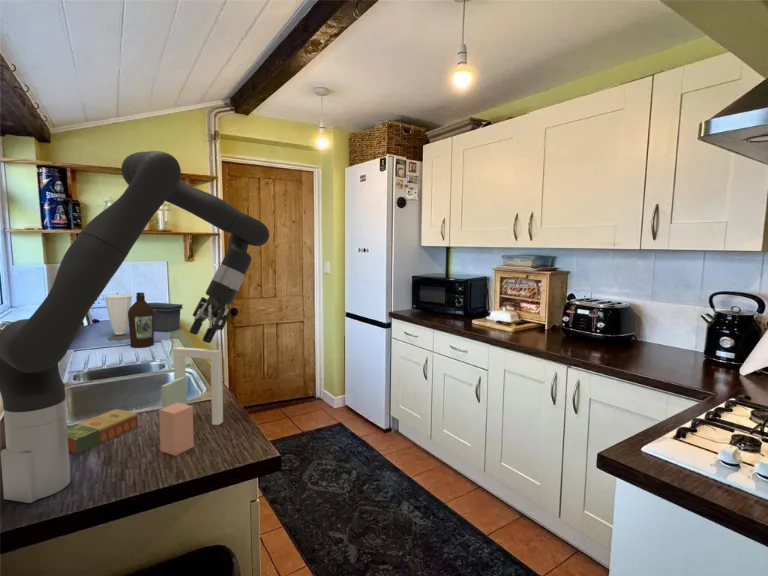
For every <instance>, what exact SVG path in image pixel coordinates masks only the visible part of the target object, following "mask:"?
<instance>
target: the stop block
mask: <svg viewBox="0 0 768 576" xmlns="http://www.w3.org/2000/svg"><path fill="white" fill-rule="evenodd" d="M193 407H194V405H193V406H192V405H189V404H187V405H186V404H182V403H175V404H173V405H170V406H167V407H165V408H162V407H161V408H160V409H158V411H159V412H158V413H159V415H158V416H159V439H160V440H159V441H160V445H159V446H160V447H159V448H160V452H162V453H165V454H168V455H171V456H175V457H176V456H179V455H180V454H182V453H184V452H186V451H189V450H190V449H192V448H194V446H195V445H194V444H195V443H194V440H195V437H194V412H193V411H194V408H193Z"/></svg>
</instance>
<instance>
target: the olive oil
mask: <svg viewBox="0 0 768 576" xmlns="http://www.w3.org/2000/svg"><path fill="white" fill-rule="evenodd" d="M135 295H136V296H135V299H136V301H135V302H134V303H133V304H131V307H130V309H129V311H128V321H129V322H128V328H129V329H128V330H129V335H130V339H129V341H130V347H131V348H133V349H134V348H135V349H139V348H140V349H141V348H149V347H152V346H154V345H155V334H154V333H155V331H154V310H153V308H152V307H151V306H150V305H149V304H148V303H149V302H147V301H146V300H145V297H146V295H145V292H136V294H135Z"/></svg>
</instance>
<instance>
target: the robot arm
mask: <svg viewBox="0 0 768 576" xmlns="http://www.w3.org/2000/svg"><path fill="white" fill-rule="evenodd" d="M120 170H121V175H122V178H123V180H124V181H125V183H126V184H127V185H128V186H127V187H126V189H125V190H124V192H123V193H121V195H120V196H119V197H118V199H116V200H115V201H114V202H113V203H112V204H110V205H109V206H108V207H107V208H105V209H104V210H102V211H101V212H100V213H99V214H97V215H96V216H94V218H92V219H91V220H90V221H89V222H88V223H87V224H85V226H84V227H83V228H82V229H81V231H80V232H79V233H78V234H77V236H76V237H75V239H74V240H73V241H72V243H71V244H70V246H69V247H68V249H66V251H65V253H64V255H63V257H62V259H61V261H60V264H59V266H58V269H57V272H56V275H55V278H54V281H53V283H52V285H51V286H52V287H51V289H50V291H49V293H48V294H47V296H45V297H46V298H45V299H44V300H43V301H42V303H40V305H39V306H38V307H37V309H36V310H35V312H34V313H33V314H32V315H31V316H30V317H29V318H24V319H19V320H16V321H12V322H11V323H9V324H7V325H6V326H5V327H4V328H2V329H1V331H0V396H1V400H2V406H3V407H2V408H3V419H4V420H3V421H4V433H5V434H4V435H5V447H6V448H4V449H2V450H0V462H1V464H0V466H1V474H2V475H1V477H2V491H3V500H7V501H13V502H21V503H26V504H31V503H34V502H35V501H37V500H40V499H43V498H47V497H49V496H52V495H55V494H56V493H58V492H61V491H62V490H64V489H65V488H66V487H67V486H68V485H69V484H70V482H71V470H70V467H71V466H70V453H69V448H68V431H67V428H68V417H67V414H68V413H67V399H66V387H65V384H64V381H63V379H62V377H61V374H60V370H59V363H60V362H61V361H62V359H64V357H65V355H66V354H67V352H68V350H69V349H70V347H71V345H72V343H73V341H74V339H75V337H76V335H77V333H78V331H79V329H80V327H81V325H82V323H83V321H84V320H85V318H86V316H87V314H88V313H89V311H90V310H91V308H92V307H93V305H94V304H95V303H96V301H97V300H98V298H99V297H100V296H101V295H102V293H103V291H104V290H105V289H106V288H107V285H108V284H109V283H110V281H111V279H112V278H113V277H114V275H115V274H116V273H117V271H118V270H119V269H120V267H121V266H122V264H123V262H124V261H126V258H127V257H128V254H130V251H131V250H132V248H133V247H134V245H135V244H136V242H137V241H138V240H139V237H140V236H141V235H142V233H143V232H144V230H145V228H146V227H147V225H148V224H149V222H150V221H151V219H152V218H153V217H154V216H155V214H156V213H157V211H158V210H159V209H160V208H161V207H162V206H163V204H165V202H167V203H169V204H171V205H174V206H176V207H178V208H180V209H182V210H185V211H187V213H189V214H190V213H191V214H192V215H194V216H195V217H198V218H199V219H202V220H203V221H204V222H206V223H208V224H210V225H212V226H214V227H216V228H217V229H219V230H221V231H223V232H226V233H229V234H230V236H229V240H228V244H227V245H228V246H227V251H226V254H225V255H224V257H223V259H222V261H221V263H220V265H219V266H218V268H217V269H216V271H215V272H214V275H213V277H212V279H211V281H210V283H209V285H208V287H207V289H206V291H205V295H206V296H208V298H206V297H201V298H200V300H199V301H198V303H197V305H196V307H195V310H194V311H193V313H192V316H193V317H194V318H193V319H194V321H193V323H192V325H191V326H190V328H189V329H190V330H189V333H190V334H192V335H195V336H196V335H198V334H199V332H200V330H201V329H202V326H203V323H204V322H205V321H206V320H208V321H209V322H208V327H207V329H206V331H205V333H204V335H203V337H202V342H203V343H207V344H211V343H212V341H213V338H214V336H215V334H216V333H217V331H223V330H224V328H225V325H226V323H227V321H228V319H229V316H230V315H231V313H232V310H231V309H230V308H227V305H232V304H233V302H234V299H235V298H236V296H237V293H239V290H240V287H241V285H242V283H243V280H244V278H245V275H246V274H247V271H248V269H249V267H250V264H251V263H252V256H251V255H250V254H249V253H248V248H249V245H250V246H253V247H261V246H263V245H265V244H266V243H267V242H268V240H269V239H270V231H269V228H268V226H267V225H265V223H263V222H262V221H260V220H258V219H257V218H255V217H253V216H251V215H248V214H246V213H244V212H242V211H240V210H239V209H237V208H236V207H234V206H233V205H231V204H230V203H228V202H227V201H225V200H224V199H221V198H220V197H218V196H215V194H214V195H213V194H212V193H209V192H207V191H204V190H201V189H199V188H197V187H195V186H191V185H189V184H188V183H185V181H182V180H181V177H182V170H181V165H180V163H179V162H178V160H177V158H175V156H173V155H172V154H170V153H168V152H164V151H162V150H161V151H160V150H150V151H138V152H135V153H134V152H133V153H132V154H129V155H127V156H126V157H125V158H124V160H123V161H122V163H121V169H120Z"/></svg>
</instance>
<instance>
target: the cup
mask: <svg viewBox="0 0 768 576" xmlns="http://www.w3.org/2000/svg"><path fill="white" fill-rule="evenodd" d="M132 297H133V296H132V294H128V293H127V294H126V293H125V294H124V293H123V294H120V293H119V294H118V293H117V294H108V295H105V296H104V298H105V299H104V300H105V304H106V305H105V306H106V309H107V314H108V319H109V321H110V324H111V328H112V330H113V332H114V336H109V337H107V338H106V339H108V341H112V340H116V341H125V339H126V340H130V334H128V335H127V334H126V333H127V329H128V328H129V321H128V311H129V309H130V307H131V306H132V299H133V298H132Z"/></svg>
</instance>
